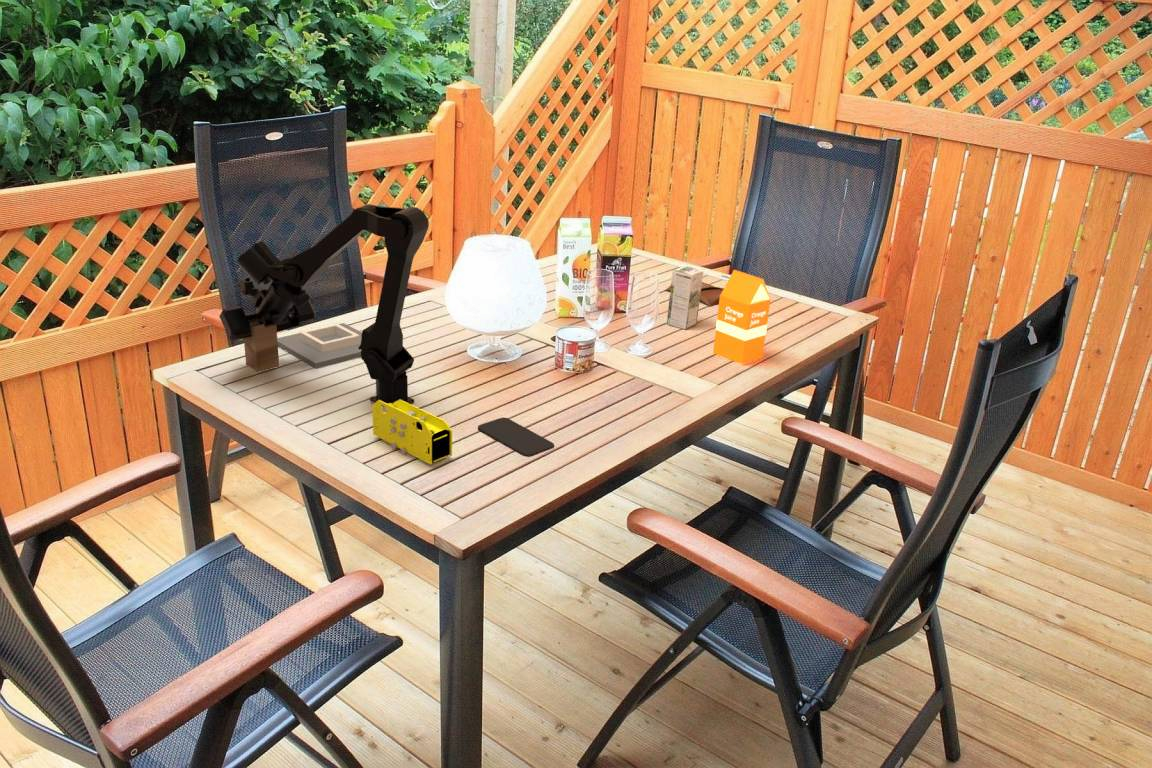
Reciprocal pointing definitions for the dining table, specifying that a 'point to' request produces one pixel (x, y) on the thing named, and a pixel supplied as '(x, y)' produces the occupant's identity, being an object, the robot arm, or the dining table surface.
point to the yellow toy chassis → (412, 430)
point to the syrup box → (684, 297)
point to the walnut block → (262, 348)
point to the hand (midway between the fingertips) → (257, 334)
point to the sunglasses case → (708, 294)
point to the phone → (515, 437)
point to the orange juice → (742, 318)
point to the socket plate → (324, 345)
